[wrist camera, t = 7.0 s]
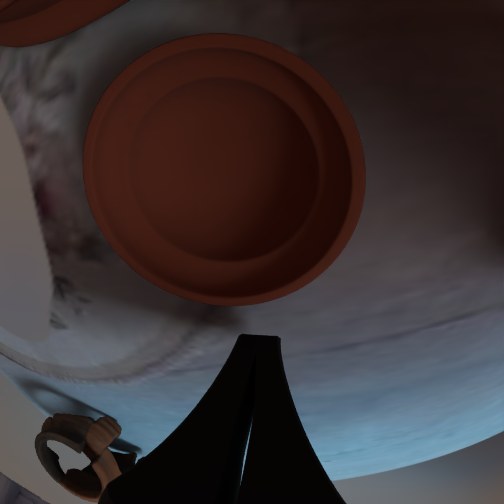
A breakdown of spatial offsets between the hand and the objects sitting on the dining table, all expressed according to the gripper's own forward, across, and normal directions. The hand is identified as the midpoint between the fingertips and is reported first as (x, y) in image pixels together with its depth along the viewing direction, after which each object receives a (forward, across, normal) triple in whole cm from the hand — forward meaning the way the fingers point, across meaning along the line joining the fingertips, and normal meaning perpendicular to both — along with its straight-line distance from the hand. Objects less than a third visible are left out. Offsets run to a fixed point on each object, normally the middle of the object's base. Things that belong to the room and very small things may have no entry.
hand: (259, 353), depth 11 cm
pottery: (+2, +3, -13) cm, 13 cm away
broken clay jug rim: (+2, +13, +16) cm, 21 cm away
